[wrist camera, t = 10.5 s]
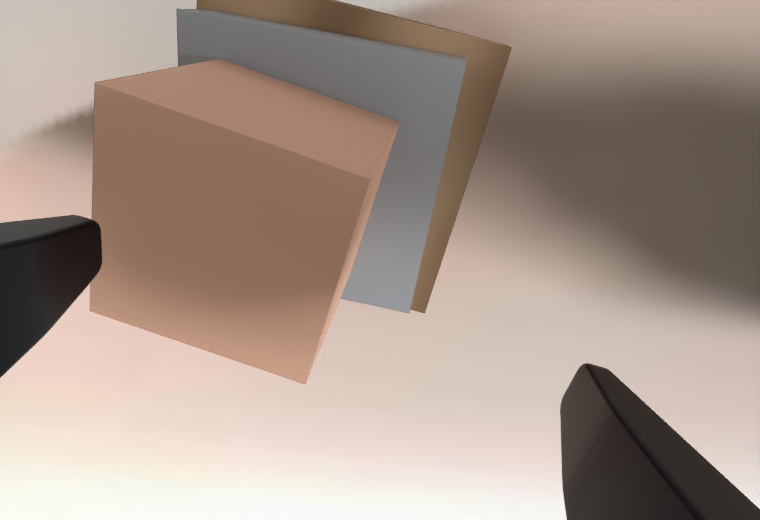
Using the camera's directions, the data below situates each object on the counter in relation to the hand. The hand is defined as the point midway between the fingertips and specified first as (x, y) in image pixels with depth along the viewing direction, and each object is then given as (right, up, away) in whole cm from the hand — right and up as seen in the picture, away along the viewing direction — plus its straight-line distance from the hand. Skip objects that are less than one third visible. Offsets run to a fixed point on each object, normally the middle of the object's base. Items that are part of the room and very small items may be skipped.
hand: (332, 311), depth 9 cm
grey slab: (-1, +5, +10) cm, 11 cm away
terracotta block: (-2, +4, +8) cm, 9 cm away
